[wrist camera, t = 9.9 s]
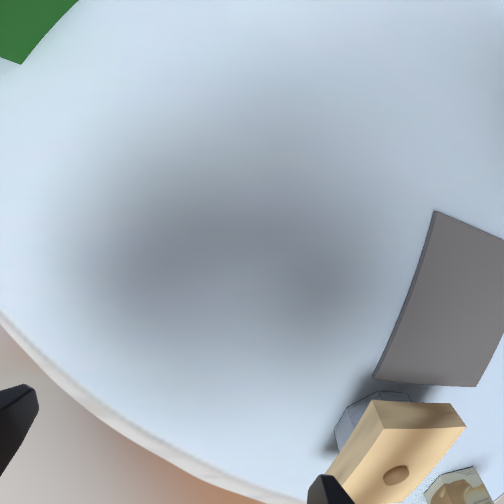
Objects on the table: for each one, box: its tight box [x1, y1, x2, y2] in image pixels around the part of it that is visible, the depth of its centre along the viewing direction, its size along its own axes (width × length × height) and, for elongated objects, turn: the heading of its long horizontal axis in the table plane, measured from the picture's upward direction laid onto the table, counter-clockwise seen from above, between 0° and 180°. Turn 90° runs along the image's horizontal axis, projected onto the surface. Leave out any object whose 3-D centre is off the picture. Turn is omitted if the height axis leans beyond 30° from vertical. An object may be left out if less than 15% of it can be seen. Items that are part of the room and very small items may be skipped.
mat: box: [373, 211, 504, 387], centre depth 18 cm, size 11×12×1 cm
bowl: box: [334, 391, 411, 453], centre depth 19 cm, size 6×6×3 cm
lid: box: [325, 400, 466, 504], centre depth 16 cm, size 7×9×3 cm
